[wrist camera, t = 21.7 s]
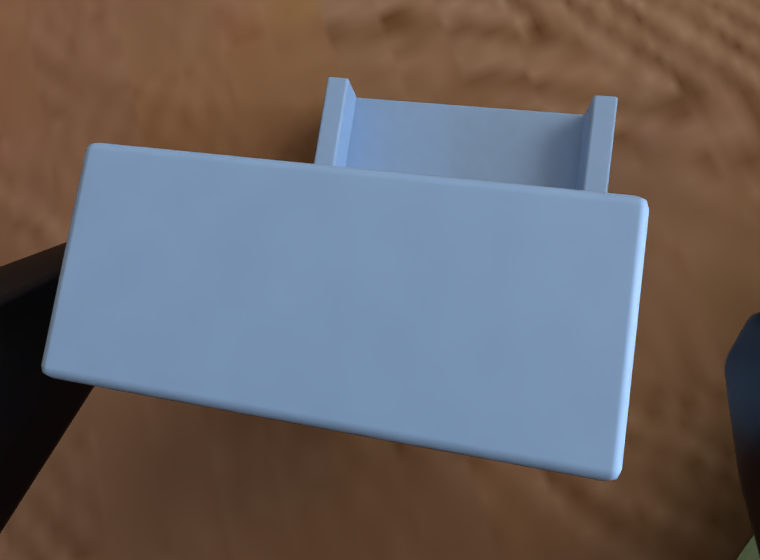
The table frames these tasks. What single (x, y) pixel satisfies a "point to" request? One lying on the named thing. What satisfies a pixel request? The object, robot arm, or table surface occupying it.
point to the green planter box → (750, 551)
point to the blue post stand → (372, 281)
